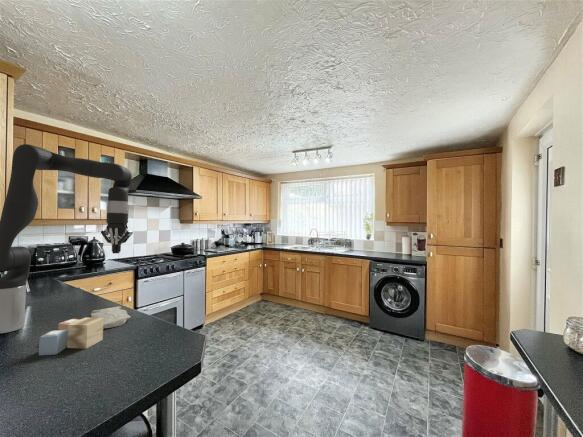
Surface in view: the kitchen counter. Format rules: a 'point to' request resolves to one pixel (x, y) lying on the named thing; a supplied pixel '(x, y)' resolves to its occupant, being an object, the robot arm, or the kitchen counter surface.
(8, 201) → the robot arm
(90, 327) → the plain block
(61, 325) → the terracotta label block
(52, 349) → the blue label block
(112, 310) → the stone tool
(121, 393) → the kitchen counter surface
